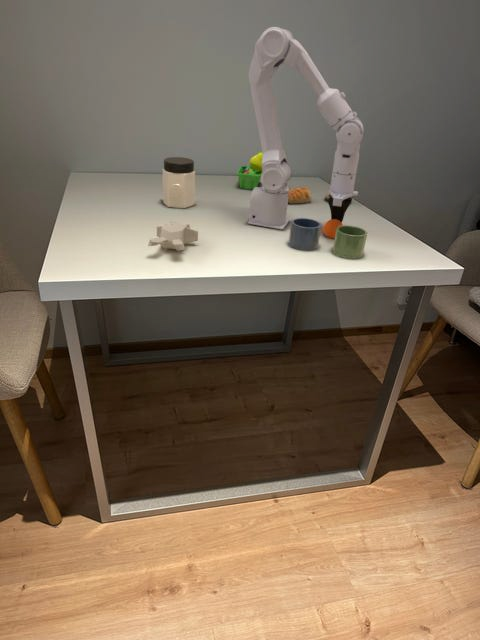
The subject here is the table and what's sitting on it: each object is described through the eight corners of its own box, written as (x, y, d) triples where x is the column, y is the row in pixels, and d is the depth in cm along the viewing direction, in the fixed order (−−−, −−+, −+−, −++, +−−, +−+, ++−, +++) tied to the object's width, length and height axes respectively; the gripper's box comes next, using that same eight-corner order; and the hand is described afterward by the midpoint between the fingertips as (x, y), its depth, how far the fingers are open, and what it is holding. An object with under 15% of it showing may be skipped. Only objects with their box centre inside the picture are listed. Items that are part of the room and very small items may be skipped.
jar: (160, 206, 129) (159, 162, 123) (165, 198, 136) (165, 155, 130) (192, 209, 129) (193, 165, 123) (196, 201, 136) (197, 158, 130)
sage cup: (330, 255, 108) (334, 232, 105) (334, 245, 113) (338, 223, 111) (361, 261, 106) (366, 238, 103) (363, 250, 112) (368, 228, 109)
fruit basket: (240, 180, 160) (242, 146, 154) (266, 183, 159) (269, 148, 153) (235, 189, 150) (238, 152, 144) (263, 192, 149) (266, 155, 144)
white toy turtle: (202, 221, 109) (188, 236, 96) (201, 242, 111) (187, 260, 98) (162, 217, 110) (143, 231, 96) (162, 238, 112) (143, 255, 98)
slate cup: (285, 247, 110) (288, 225, 107) (291, 237, 116) (294, 216, 113) (315, 252, 108) (319, 230, 106) (319, 242, 114) (323, 221, 111)
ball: (320, 239, 120) (320, 229, 116) (327, 223, 122) (327, 213, 117) (339, 245, 119) (339, 235, 114) (346, 228, 120) (346, 218, 116)
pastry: (290, 206, 138) (292, 193, 136) (275, 200, 143) (276, 187, 141) (312, 202, 144) (314, 189, 142) (297, 196, 148) (298, 184, 146)
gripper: (358, 181, 106) (348, 237, 113) (363, 167, 118) (354, 219, 125) (327, 177, 108) (319, 233, 115) (335, 164, 120) (328, 216, 127)
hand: (336, 226), depth 120 cm, fingers closed, pressing on ball
